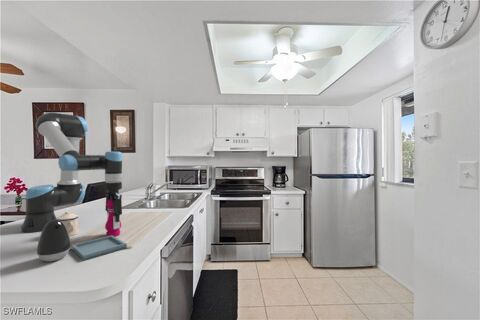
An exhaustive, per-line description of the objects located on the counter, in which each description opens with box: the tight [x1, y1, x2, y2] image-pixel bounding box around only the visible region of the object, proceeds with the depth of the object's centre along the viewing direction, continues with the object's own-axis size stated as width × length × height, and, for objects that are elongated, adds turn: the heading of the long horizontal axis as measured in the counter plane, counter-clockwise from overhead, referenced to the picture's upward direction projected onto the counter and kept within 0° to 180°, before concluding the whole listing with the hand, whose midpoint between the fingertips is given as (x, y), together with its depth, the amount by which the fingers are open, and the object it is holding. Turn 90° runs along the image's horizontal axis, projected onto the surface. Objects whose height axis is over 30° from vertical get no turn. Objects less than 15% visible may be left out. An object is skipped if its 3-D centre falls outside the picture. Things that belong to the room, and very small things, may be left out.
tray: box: [71, 235, 128, 262], centre depth 97 cm, size 16×16×2 cm
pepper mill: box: [104, 199, 122, 237], centre depth 115 cm, size 7×7×20 cm
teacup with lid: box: [56, 211, 79, 237], centre depth 114 cm, size 12×9×12 cm
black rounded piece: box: [36, 220, 72, 262], centre depth 88 cm, size 10×10×15 cm
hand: (113, 226), depth 115 cm, fingers closed on pepper mill, 7 cm apart
